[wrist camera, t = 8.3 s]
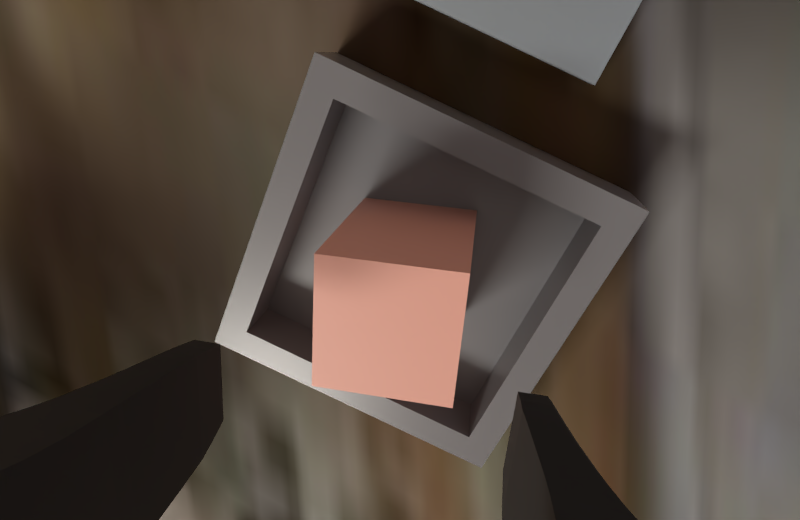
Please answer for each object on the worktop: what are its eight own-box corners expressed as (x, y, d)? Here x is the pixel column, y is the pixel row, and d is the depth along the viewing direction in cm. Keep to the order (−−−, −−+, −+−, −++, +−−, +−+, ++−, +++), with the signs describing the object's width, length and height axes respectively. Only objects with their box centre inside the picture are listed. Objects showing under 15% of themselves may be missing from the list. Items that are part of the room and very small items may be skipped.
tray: (630, 192, 18) (650, 211, 16) (482, 425, 23) (481, 467, 20) (337, 52, 18) (314, 52, 16) (242, 312, 23) (214, 341, 20)
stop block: (476, 210, 19) (469, 273, 13) (463, 312, 20) (452, 408, 15) (365, 197, 20) (314, 253, 14) (359, 298, 21) (311, 385, 15)
